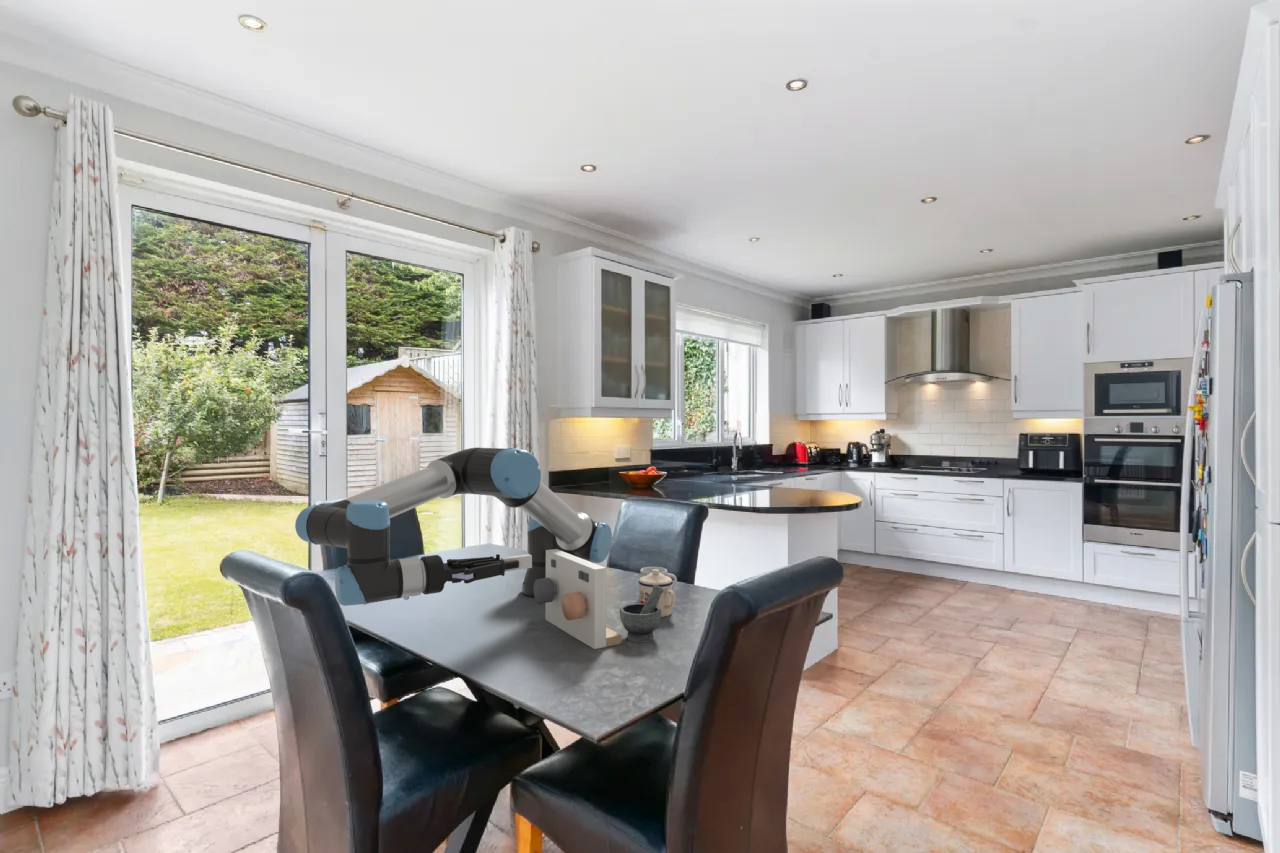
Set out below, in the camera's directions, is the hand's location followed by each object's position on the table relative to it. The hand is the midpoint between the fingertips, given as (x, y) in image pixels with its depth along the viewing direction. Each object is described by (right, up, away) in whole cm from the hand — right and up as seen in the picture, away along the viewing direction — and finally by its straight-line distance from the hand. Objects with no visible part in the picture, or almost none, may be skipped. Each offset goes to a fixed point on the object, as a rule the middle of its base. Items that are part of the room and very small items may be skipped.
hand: (530, 560), depth 144 cm
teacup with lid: (+29, -21, +31) cm, 47 cm away
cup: (+30, -21, +48) cm, 60 cm away
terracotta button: (+11, -15, +8) cm, 20 cm away
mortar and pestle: (+25, -21, +12) cm, 35 cm away
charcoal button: (+3, -14, +22) cm, 26 cm away
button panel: (+10, -20, +16) cm, 28 cm away
